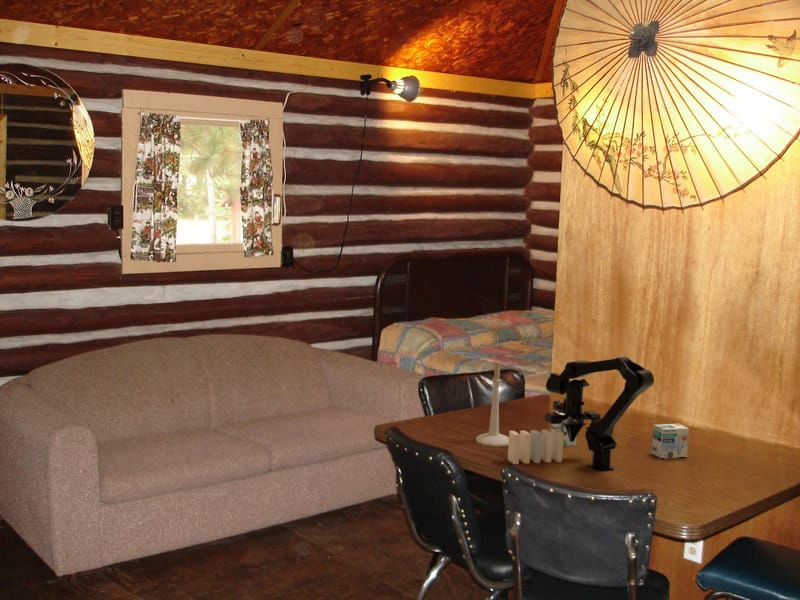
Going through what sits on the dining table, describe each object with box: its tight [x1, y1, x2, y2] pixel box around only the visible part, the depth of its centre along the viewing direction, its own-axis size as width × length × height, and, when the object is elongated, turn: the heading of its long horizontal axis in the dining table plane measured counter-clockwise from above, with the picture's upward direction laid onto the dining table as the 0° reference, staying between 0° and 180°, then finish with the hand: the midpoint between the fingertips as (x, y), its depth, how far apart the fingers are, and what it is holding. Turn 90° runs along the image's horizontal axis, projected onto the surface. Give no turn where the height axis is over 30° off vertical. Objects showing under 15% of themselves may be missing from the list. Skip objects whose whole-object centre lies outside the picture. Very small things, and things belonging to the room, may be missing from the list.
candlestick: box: [475, 360, 509, 447], centre depth 326 cm, size 13×13×30 cm
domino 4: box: [540, 429, 553, 463], centre depth 306 cm, size 5×2×10 cm, turn 16°
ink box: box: [550, 411, 577, 447], centre depth 326 cm, size 9×5×12 cm, turn 117°
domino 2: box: [519, 430, 531, 464], centre depth 304 cm, size 5×2×10 cm, turn 16°
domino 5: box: [551, 429, 564, 463], centre depth 307 cm, size 5×2×10 cm, turn 16°
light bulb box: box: [651, 423, 690, 459], centre depth 317 cm, size 11×7×11 cm, turn 105°
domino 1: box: [507, 430, 520, 465], centre depth 303 cm, size 5×2×10 cm, turn 16°
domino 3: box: [530, 429, 542, 464], centre depth 305 cm, size 5×2×10 cm, turn 16°
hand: (571, 441), depth 309 cm, fingers closed
